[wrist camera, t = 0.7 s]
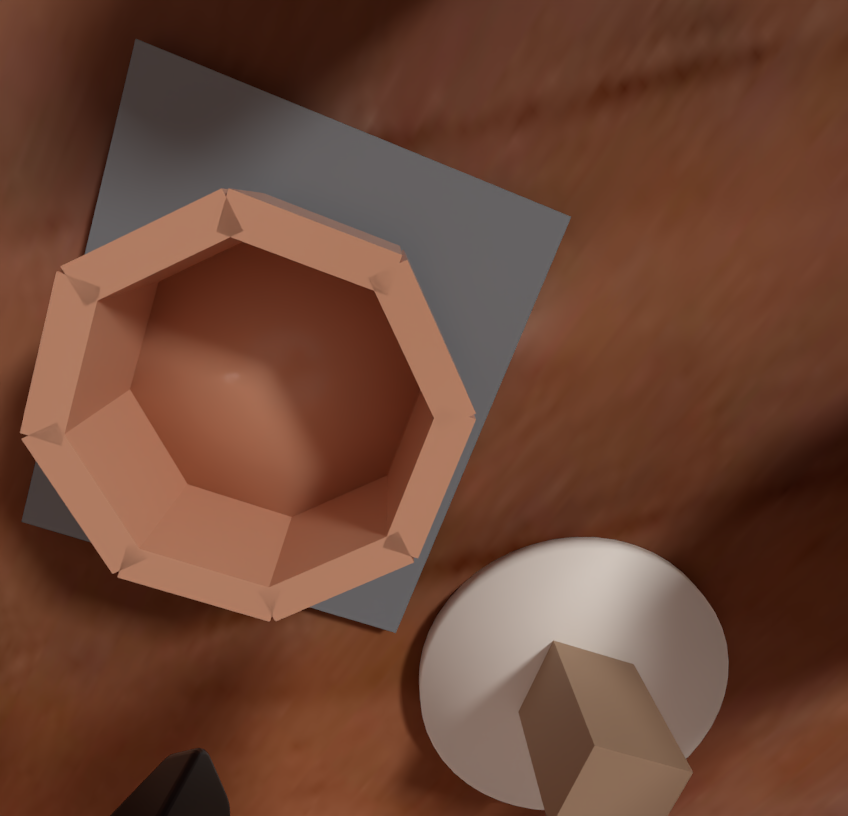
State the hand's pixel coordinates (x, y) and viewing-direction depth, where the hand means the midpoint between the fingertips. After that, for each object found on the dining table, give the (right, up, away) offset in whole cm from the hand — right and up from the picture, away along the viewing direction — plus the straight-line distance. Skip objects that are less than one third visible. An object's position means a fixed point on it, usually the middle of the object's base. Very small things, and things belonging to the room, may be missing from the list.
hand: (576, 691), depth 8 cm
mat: (-6, +4, +12) cm, 14 cm away
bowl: (-6, +4, +11) cm, 13 cm away
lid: (+3, -6, +16) cm, 17 cm away
